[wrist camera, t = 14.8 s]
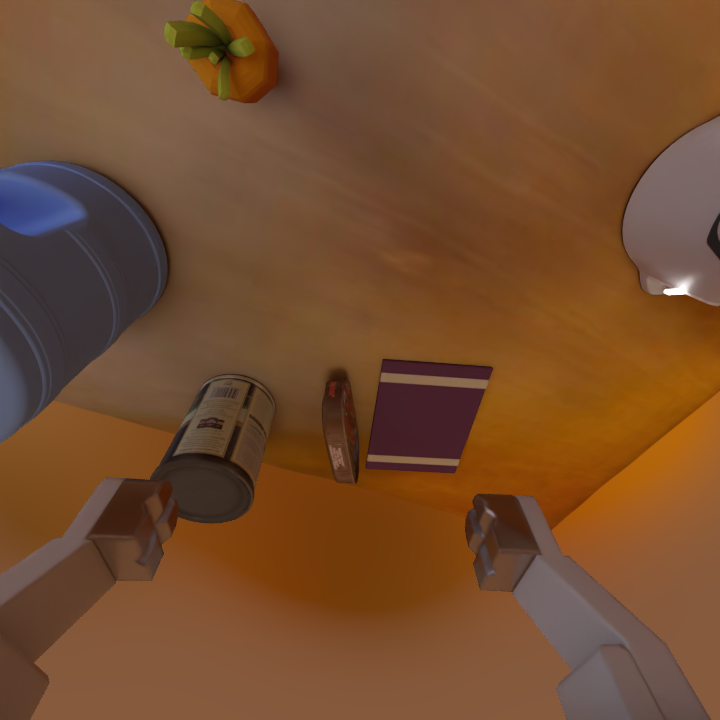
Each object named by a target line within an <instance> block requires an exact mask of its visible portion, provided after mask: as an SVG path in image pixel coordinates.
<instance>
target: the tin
mask: <svg viewBox="0 0 720 720" xmlns="http://www.w3.org/2000/svg"><path fill="white" fill-rule="evenodd" d="M322 424H323V432H324V437H325V442H326V446H327V451H328V455H329V459H330V464H331V468H332V472H333V476H334V479H335V481H336V482H338V483H354V484H356V483H357V481H358V474H359V440H358V431H357V425H356V418H355V412H354V406H353V399H352V393H351V388H350V384H349V381H348V380H347V379H345V380H335V381H328V382H327V383H326V388H325V394H324V398H323V402H322Z"/></svg>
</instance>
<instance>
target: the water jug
mask: <svg viewBox="0 0 720 720" xmlns="http://www.w3.org/2000/svg"><path fill="white" fill-rule="evenodd" d="M167 274H168V264H167V256H166V252H165V248H164V245H163V242H162V239H161V237H160V235H159V233H158V231H157V229H156V227H155V225H154V224H153V222H152V221H151V219H150V218H149V216H148V215H147V214H146V212H145V211H144V210H143V209H142V207H141V206H140V205H139V204H138V203H137V202H136V201H135V200H134V199H133V198H132V197H131V196H130V195H129V194H128V193H127V192H125V191H124V190H123V189H122V188H120V187H119V186H118V185H116V184H115V183H113V182H112V181H110V180H109V179H107V178H105V177H104V176H102V175H100V174H98V173H96V172H94V171H92V170H89V169H87V168H84V167H81V166H78V165H75V164H71V163H66V162H60V161H36V162H29V163H22V164H18V165H14V166H12V167H9V168H2V169H0V443H1V442H3V441H4V440H6V439H8V438H9V437H11V436H12V435H13V434H14V433H15V432H16V431H18V430H19V428H21V427H22V426H24V425H26V424H27V423H28V422H30V421H31V420H32V419H33V418H35V417H36V416H37V415H38V414H39V413H40V412H42V411H43V410H44V409H45V408H46V407H47V406H48V405H49V404H50V403H51V402H52V401H53V400H54V399H55V398H56V396H57V395H58V394H59V393H60V391H61V390H62V389H63V388H64V387H65V386H66V385H67V384H68V383H69V382H70V381H71V380H72V379H73V378H74V377H75V376H77V375H78V374H79V373H80V372H81V371H82V370H83V369H84V368H85V367H86V366H87V365H88V364H89V363H90V362H91V361H93V360H95V359H96V358H97V357H99V356H100V355H101V354H103V353H104V352H105V351H106V350H107V349H108V348H109V347H110V346H111V345H112V344H113V343H114V342H115V341H116V340H117V339H118V338H119V336H120V335H121V334H122V332H124V331H125V330H126V329H127V328H128V327H129V326H130V325H131V324H132V323H133V322H134V321H135V320H136V319H138V318H139V317H141V316H142V315H144V314H145V313H146V312H147V311H148V310H149V309H150V308H151V307H152V306H153V305H154V304H155V303H156V302H157V301H158V300H159V298H160V297H161V295H162V293H163V291H164V288H165V285H166V281H167Z"/></svg>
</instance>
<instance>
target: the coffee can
mask: <svg viewBox="0 0 720 720" xmlns="http://www.w3.org/2000/svg"><path fill="white" fill-rule="evenodd" d="M274 414H275V403H274V400H273V398H272V396H271V394H270V393H269V391H267V389H266V388H265V387H263V386H262V385H261V384H260V383H258V382H256V381H255V380H253V379H250V378H248V377H245V376H239V375H221V376H217V377H214V378H212V379H210V380H208V381H207V382H206V383H204V384H203V386H202V387H201V388H200V390H199V392H198V395H197V397H196V399H195V401H194V402H193V404H192V406H191V408H190V410H189V412H188V413H187V415H186V417H185V419H184V421H183V423H182V425H181V426H180V428H179V430H178V432H177V434H176V435H175V437H174V439H173V441H172V443H171V445H170V447H169V448H168V450H167V452H166V454H165V456H164V457H163V459H162V461H161V463H160V465H159V466H158V467H157V468H156V469H155V471H154V472H153V474H152V476H151V478H150V480H161V481H170V482H171V484H172V487H173V491H172V493H171V496H172V497H174V498H175V499H176V500H177V503H178V513H179V514H178V517H180V518H183V519H186V520H189V521H193V522H200V523H223V522H228V521H232V520H235V519H237V518H239V517H241V516H242V515H244V514H245V513H246V512H247V511H248V510H249V509H250V508H251V506H252V503H253V499H254V490H255V486H256V482H257V478H258V475H259V470H260V467H261V463H262V459H263V455H264V451H265V447H266V443H267V439H268V435H269V431H270V427H271V423H272V419H273V417H274Z"/></svg>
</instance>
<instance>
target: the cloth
mask: <svg viewBox="0 0 720 720" xmlns="http://www.w3.org/2000/svg"><path fill="white" fill-rule="evenodd" d="M492 370H493V368H492V367H485V366H471V365H457V364H443V363H430V362H416V361H402V360H388V359H383V363H382V369H381V375H380V381H379V388H378V394H377V400H376V406H375V412H374V419H373V425H372V431H371V437H370V443H369V450H368V456H367V462H366V469H381V470H401V471H420V472H440V473H455V471H456V468H457V466H458V464H459V461H460V457H461V455H462V452H463V449H464V446H465V444H466V441H467V438H468V435H469V433H470V430H471V427H472V424H473V422H474V419H475V416H476V413H477V411H478V408H479V405H480V402H481V400H482V397H483V394H484V391H485V389H486V387H487V384H488V382H489V378H490V375H491V372H492Z"/></svg>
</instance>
